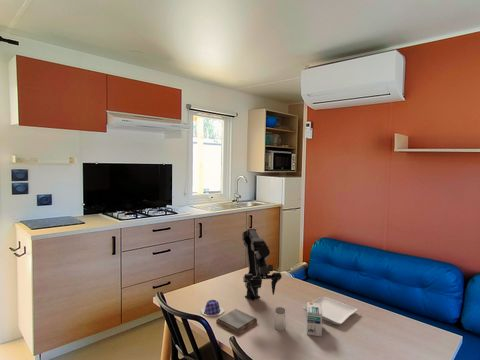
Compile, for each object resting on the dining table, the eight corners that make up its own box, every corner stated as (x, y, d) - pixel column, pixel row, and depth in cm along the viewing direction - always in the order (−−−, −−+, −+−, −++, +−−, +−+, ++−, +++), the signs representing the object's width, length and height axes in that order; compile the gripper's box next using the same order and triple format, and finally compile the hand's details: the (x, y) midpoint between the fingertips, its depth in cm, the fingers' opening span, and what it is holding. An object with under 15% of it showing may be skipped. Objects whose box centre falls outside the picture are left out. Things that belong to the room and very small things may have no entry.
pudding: (214, 303, 169) (214, 294, 168) (228, 312, 160) (228, 302, 160) (196, 311, 160) (196, 301, 160) (210, 320, 152) (210, 309, 151)
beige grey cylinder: (278, 324, 149) (278, 306, 148) (286, 327, 146) (286, 309, 145) (272, 328, 146) (273, 309, 145) (280, 331, 143) (281, 312, 142)
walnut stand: (235, 312, 159) (235, 308, 159) (256, 322, 150) (257, 317, 150) (216, 323, 148) (216, 318, 148) (237, 334, 139) (237, 329, 139)
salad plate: (358, 314, 161) (358, 308, 161) (340, 330, 146) (340, 323, 146) (321, 300, 176) (322, 295, 176) (301, 313, 160) (302, 307, 160)
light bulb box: (321, 337, 139) (322, 314, 138) (306, 335, 141) (307, 312, 140) (320, 324, 150) (321, 303, 149) (306, 322, 151) (307, 301, 150)
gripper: (245, 259, 151) (248, 292, 142) (282, 258, 154) (287, 290, 145) (241, 266, 160) (244, 297, 152) (276, 264, 163) (281, 295, 155)
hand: (264, 295), depth 151 cm, fingers open, 9 cm apart
